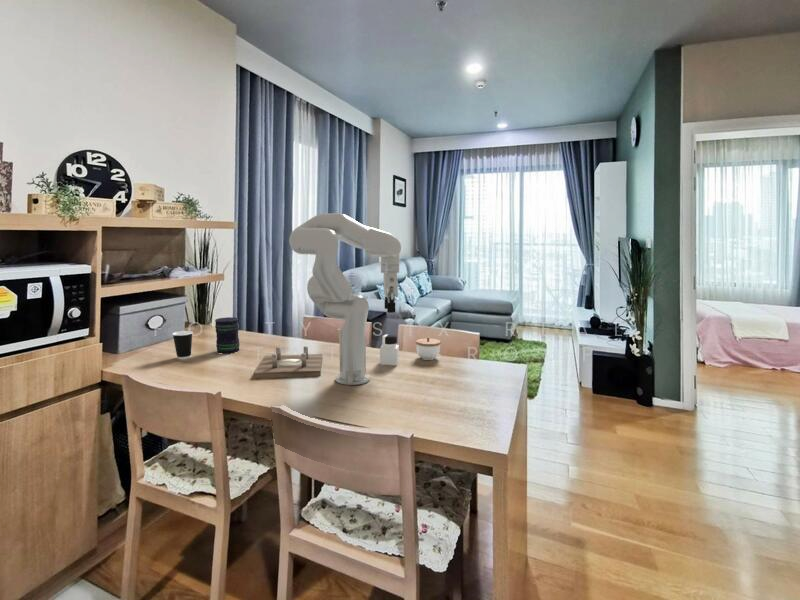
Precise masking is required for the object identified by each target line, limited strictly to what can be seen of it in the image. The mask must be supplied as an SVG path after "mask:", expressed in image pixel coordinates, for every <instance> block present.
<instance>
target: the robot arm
mask: <svg viewBox="0 0 800 600" xmlns="http://www.w3.org/2000/svg"><path fill="white" fill-rule="evenodd" d="M288 240H289V241H288V242H289V245H290V248H291V250H292V251H293V252H294V253H296V254H298V255H310V256H311V255H313V256H315V258H314V263H313V267H312V270H311V271H312V276H311V277H310V278H309V279H308V281H307V284H306V285H307V287H306V290H307V294H308V296H309V298H310V300H311V301H312V302H313V303H314V305H315V306H316V307H317V308H318V309H319V311H320V312H321V313H322V314H324V316H326V317H327V318H328V319H329V318H330V319H335V320H336V319H337V320H343V321H344V322H343V324H342V326H341V327H340V330H339V334H338V335H339V337H338V339H339V373H338V374H337V375H336V376H335V382H337V383H338V384H341V385H346V386H355V385H356V386H357V385H363V384H366V383H368V382H369V381H370V379H371V375H370V374H369V373H367V368H366V367H367V319H368V315H369V301H368V300H367V298H365V297H364V296H362V295H360V294H357V293H356V294H355V293H353V287H352V285H351V283H350V282H349V280H348V279H347V277H346V276H345V274H344V272H343V271H342V270H341V269H340V268H339V266H338V264H337V263H338V262H337V258H338V257H337V255H338V251H339V250H338V249H339V241H341V242H343V243H346V244H347V245H349V246H351V247H353V248H356V249H360V250H364V251H365V253H366V254H367V255H368V256H370V257H373V258H380V273H381V274H382V273H383V294H384V309H385V310H386V309H387V310H386V312H387V313H388V314H389V313H391V314H393V313H394V314H395V313H396V298H398V297H399V286H398V285H399V284H398V283H399V282H398V273H399V274H400V253H401V251H402V245H401V242H400V240H399V239H398V238H397V237H396V236H394V235H393V234H392V233H390V232H386V231H384V230H381V229H378V228H375V227H370V226H367V225H364V224H362V223H360V222H358V221H357V220H355V219H353V218H352V217H350V216H348V215H346V214H344V213H340V212H339V213H338V212H333V213H332V212H331V213H329V212H328V213H320V214H317V215H315V216H313V217H311V218H310V219H308V220H307V221H305V222H303V223H302V224H301V225H299V226H297V227H296V228H294V229H293V230H292V232H291V233H290V236H289V239H288Z"/></svg>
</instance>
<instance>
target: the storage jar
mask: <svg viewBox="0 0 800 600" xmlns="http://www.w3.org/2000/svg"><path fill="white" fill-rule="evenodd" d="M214 320H215V321H214V322H215V323H214V324H215V326H214V328H215V333H216V343H215V345H216V353H217V354H218V353H222V354H221V355H231V353H232V354H235V352H237V353H239V352H240V351H239V350H240V338H239V331H240V329H239V327H240V326H239V318H238V317H235V316H234V317H233V316H231V317H220V318H216V319H214ZM238 351H239V352H238Z"/></svg>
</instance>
